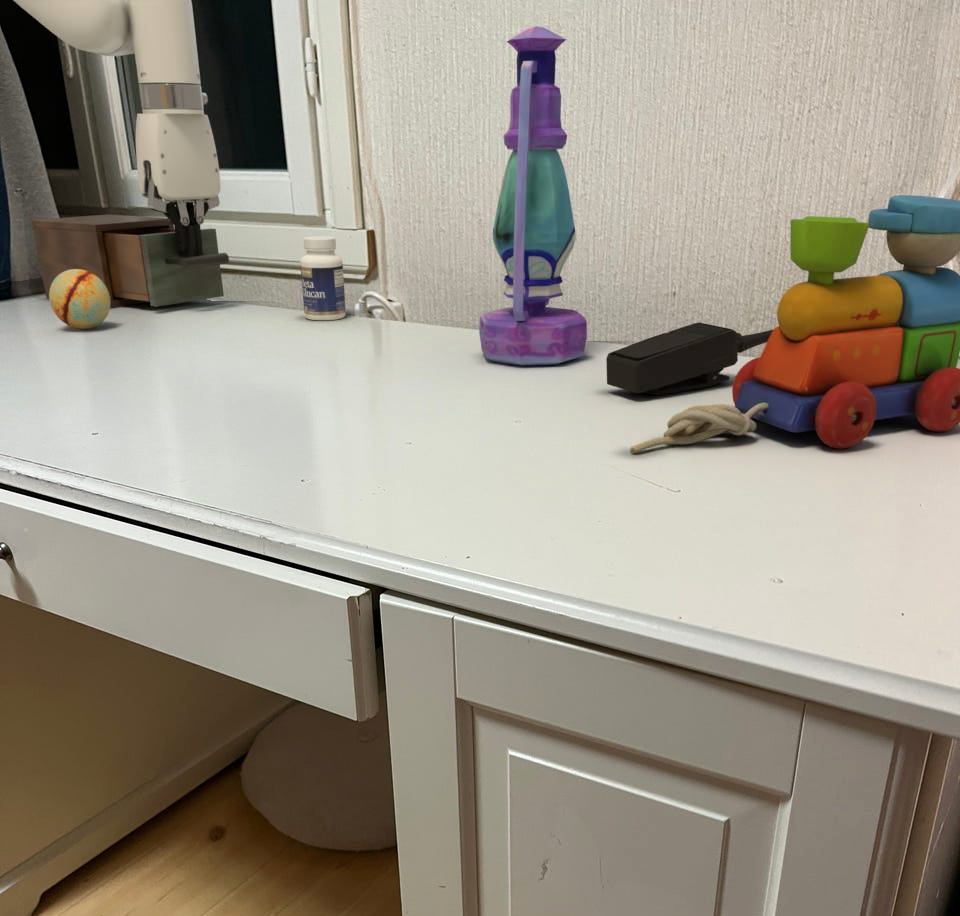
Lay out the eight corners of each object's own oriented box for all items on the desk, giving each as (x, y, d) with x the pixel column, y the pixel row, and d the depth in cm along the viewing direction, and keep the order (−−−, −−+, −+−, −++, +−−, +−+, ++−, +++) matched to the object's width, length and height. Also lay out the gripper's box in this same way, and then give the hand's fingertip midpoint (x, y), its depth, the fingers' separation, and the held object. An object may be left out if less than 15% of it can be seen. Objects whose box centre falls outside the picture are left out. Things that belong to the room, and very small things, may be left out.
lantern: (495, 343, 112) (494, 34, 98) (596, 347, 109) (610, 30, 95) (461, 367, 100) (455, 21, 87) (574, 372, 98) (585, 16, 84)
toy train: (593, 436, 77) (604, 203, 69) (872, 396, 88) (908, 191, 80) (686, 480, 67) (710, 214, 60) (987, 429, 78) (1040, 198, 70)
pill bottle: (297, 320, 127) (290, 238, 123) (315, 313, 132) (309, 235, 127) (335, 321, 126) (329, 239, 121) (352, 315, 131) (347, 235, 126)
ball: (43, 332, 121) (30, 271, 118) (80, 322, 127) (69, 265, 124) (91, 334, 119) (80, 273, 116) (126, 325, 125) (116, 266, 122)
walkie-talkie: (590, 365, 91) (749, 322, 99) (621, 421, 90) (779, 374, 98) (619, 323, 85) (785, 282, 94) (653, 383, 84) (817, 336, 92)
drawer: (246, 299, 138) (239, 230, 134) (178, 309, 130) (168, 237, 126) (160, 288, 148) (151, 224, 144) (92, 297, 140) (80, 230, 136)
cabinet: (184, 296, 147) (173, 218, 142) (109, 308, 138) (94, 224, 133) (120, 288, 155) (108, 214, 150) (46, 298, 146) (30, 220, 141)
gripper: (200, 103, 132) (216, 250, 140) (102, 100, 121) (126, 259, 129) (238, 102, 128) (252, 254, 136) (139, 99, 117) (162, 263, 125)
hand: (190, 256), depth 133 cm, fingers closed
